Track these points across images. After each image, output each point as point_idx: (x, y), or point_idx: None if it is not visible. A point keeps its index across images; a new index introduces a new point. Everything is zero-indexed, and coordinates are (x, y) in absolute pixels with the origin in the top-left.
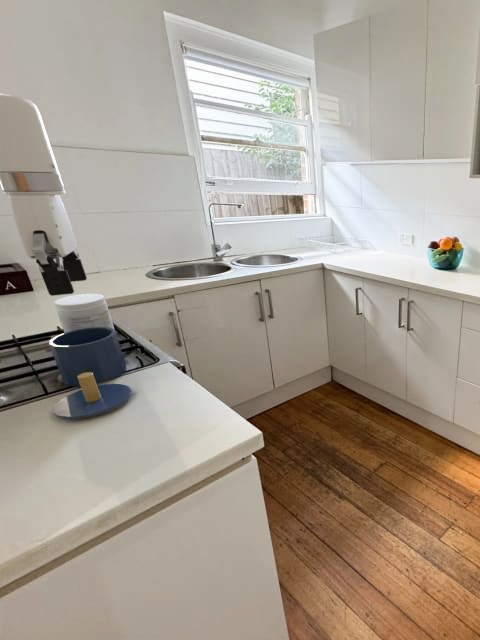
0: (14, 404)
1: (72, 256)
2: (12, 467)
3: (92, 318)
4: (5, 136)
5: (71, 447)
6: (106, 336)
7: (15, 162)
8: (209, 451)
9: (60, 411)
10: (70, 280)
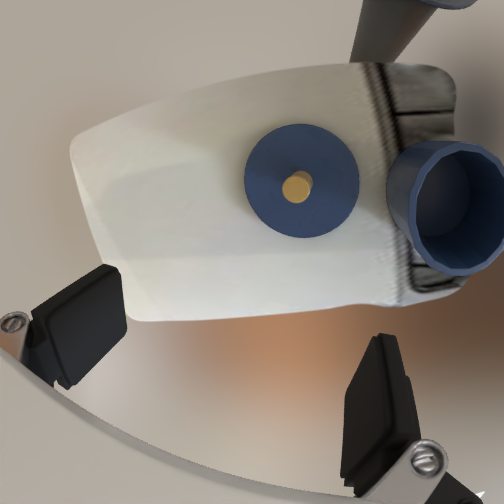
0: (377, 71)
1: (357, 493)
2: (173, 100)
3: None
4: None
5: (181, 155)
6: (480, 248)
7: None
8: None
9: (282, 135)
10: (365, 352)
